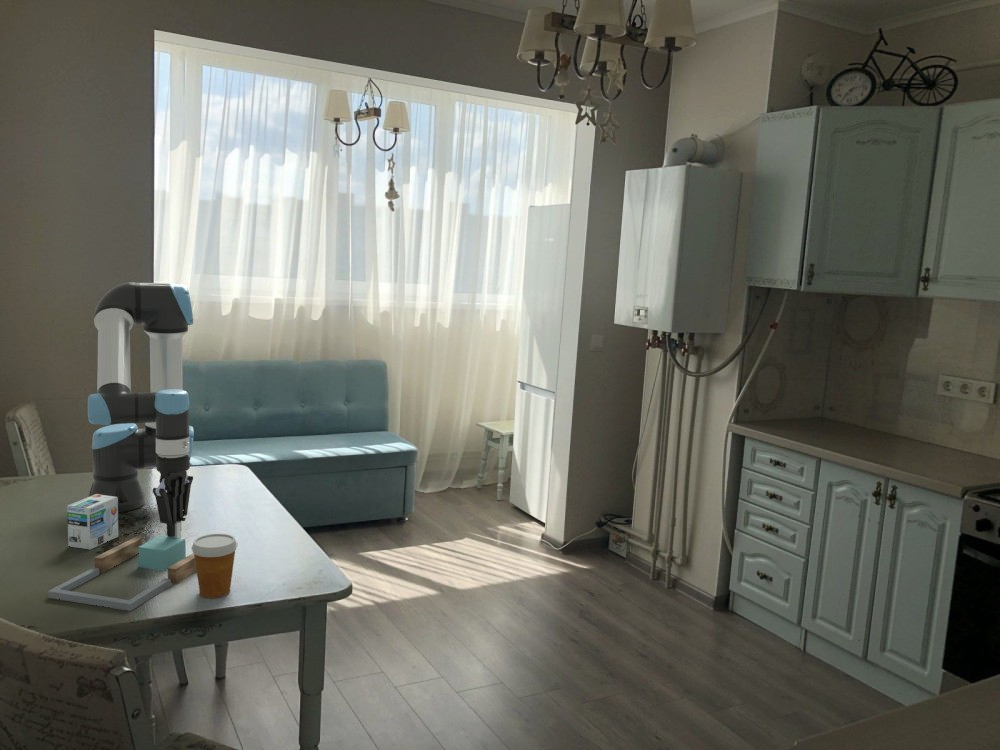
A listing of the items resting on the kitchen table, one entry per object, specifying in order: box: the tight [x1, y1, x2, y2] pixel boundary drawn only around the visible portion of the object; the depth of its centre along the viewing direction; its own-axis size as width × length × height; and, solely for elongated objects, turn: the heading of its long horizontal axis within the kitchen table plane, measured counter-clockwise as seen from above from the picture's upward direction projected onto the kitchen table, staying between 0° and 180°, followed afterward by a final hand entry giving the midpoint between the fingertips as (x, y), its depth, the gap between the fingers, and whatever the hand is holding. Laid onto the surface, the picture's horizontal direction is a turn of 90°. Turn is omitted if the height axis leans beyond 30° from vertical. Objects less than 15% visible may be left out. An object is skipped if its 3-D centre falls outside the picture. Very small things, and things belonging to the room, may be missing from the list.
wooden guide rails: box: [94, 536, 197, 585], centre depth 185 cm, size 14×21×4 cm, turn 78°
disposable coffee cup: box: [191, 533, 239, 599], centre depth 172 cm, size 10×10×12 cm
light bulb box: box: [66, 494, 119, 550], centre depth 198 cm, size 11×7×11 cm, turn 168°
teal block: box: [138, 535, 187, 572], centre depth 188 cm, size 8×7×5 cm
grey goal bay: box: [47, 567, 172, 612], centre depth 171 cm, size 14×20×2 cm
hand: (174, 547), depth 192 cm, fingers closed
